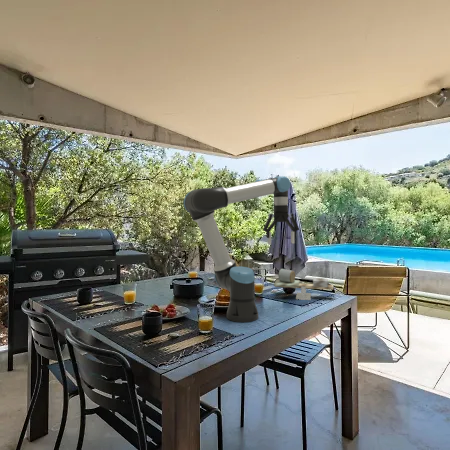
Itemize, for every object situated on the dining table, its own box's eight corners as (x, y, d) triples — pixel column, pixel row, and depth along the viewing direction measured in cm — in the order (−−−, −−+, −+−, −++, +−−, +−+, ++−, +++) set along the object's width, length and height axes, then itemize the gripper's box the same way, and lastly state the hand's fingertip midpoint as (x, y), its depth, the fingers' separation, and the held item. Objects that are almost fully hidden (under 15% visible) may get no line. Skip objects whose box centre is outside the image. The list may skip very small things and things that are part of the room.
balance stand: (296, 299, 190) (295, 286, 190) (297, 294, 201) (297, 282, 201) (310, 300, 188) (310, 287, 187) (310, 295, 199) (310, 283, 199)
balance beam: (273, 288, 191) (273, 280, 191) (276, 283, 206) (276, 275, 206) (333, 291, 183) (333, 282, 182) (332, 285, 197) (332, 277, 197)
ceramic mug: (290, 283, 191) (290, 270, 191) (278, 282, 196) (278, 269, 196) (298, 281, 200) (298, 268, 200) (285, 279, 205) (285, 267, 205)
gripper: (299, 205, 188) (299, 242, 188) (257, 205, 182) (257, 243, 183) (305, 204, 180) (305, 243, 181) (261, 204, 175) (261, 244, 176)
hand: (281, 243), depth 182 cm, fingers open, 13 cm apart
